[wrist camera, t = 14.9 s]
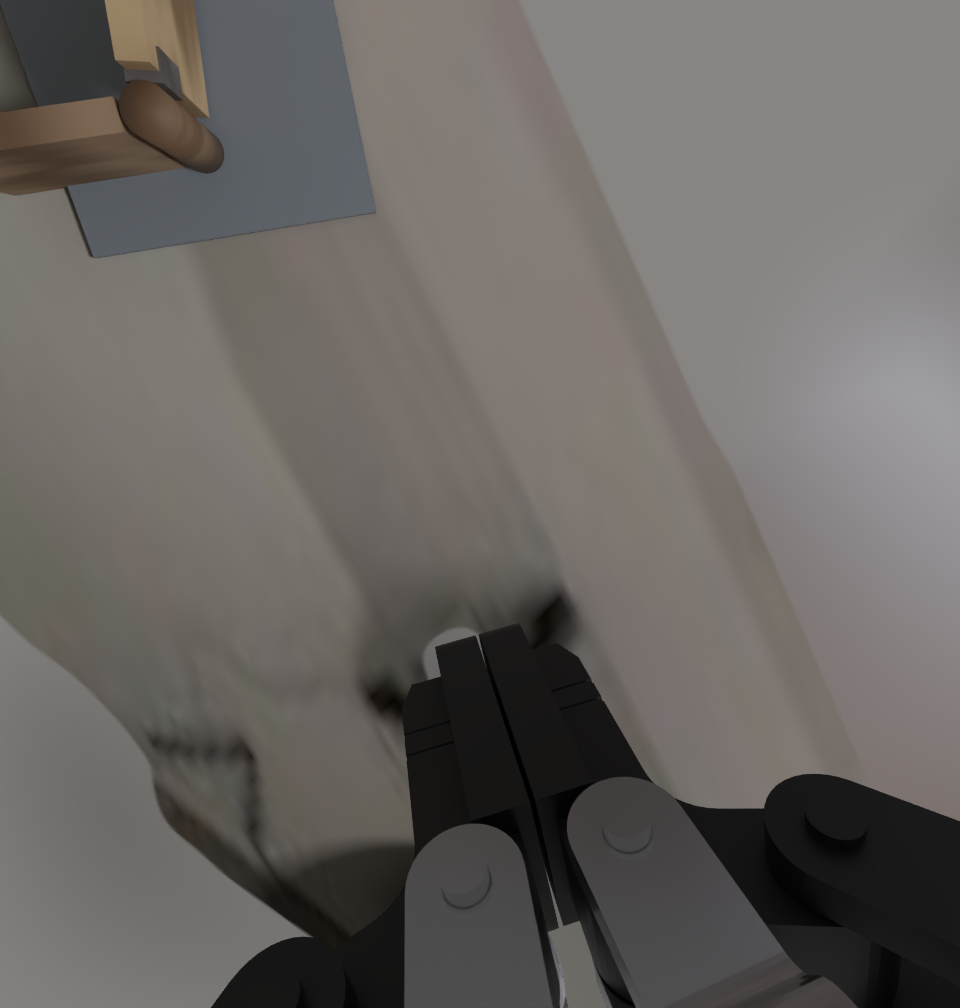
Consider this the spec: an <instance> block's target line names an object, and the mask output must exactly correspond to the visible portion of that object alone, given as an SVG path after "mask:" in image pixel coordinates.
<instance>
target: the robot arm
mask: <svg viewBox="0 0 960 1008" xmlns="http://www.w3.org/2000/svg"><path fill="white" fill-rule="evenodd" d="M479 639H480V643H481V647H482V652H483V656H484V660H485V663H484V660H483V657H482V653H481V650H480V647H479V644H478V641H477V638H476V636H472V637H468V638H464V639H461V640H457V641H454V642H451V643H447V644H443V645H440V646H437V647H435V649H436V654H437V659H438V664H439V668H440V673H441V677H438V678H434V679H431V680H427V681H424V682H420V683H417V684H413V685H412V686H411V688H410V691H409V693H408V696H407V698H406V700H405V703H404V705H403V708H402V717H403V727H404V735H405V748H406V756H407V769H408V779H409V789H410V799H411V810H412V820H413V830H414V841H415V856H414V862H413V863H412V866H411V868H410V870H409V873H408V877H407V880H406V884H405V886H404V888H403V889H402V891H401V893H400V894H399V896H398V897H397V898H396V900H395V901H394V902H393V903H392V905H391V906H390V907H389V908H388V909H387V910H386V911H385V912H384V913H383V914H382V915H381V916H380V917H378V918H377V919H376V920H375V921H373V922H372V923H371V924H369V925H368V926H366V927H365V928H364V929H362V930H361V931H359V932H358V933H356V934H355V935H354V936H352V937H351V938H349V939H348V940H346V941H345V942H344V943H342V944H341V945H339V946H338V947H336V948H335V949H334V950H333V949H332V948H331V947H330V946H329V945H327V944H326V943H325V942H323V941H321V940H318V939H315V938H311V937H295V938H290V939H286V940H283V941H280V942H278V943H276V944H274V945H271V946H269V947H268V948H266V949H265V950H263V951H262V952H260V953H259V954H257V955H256V956H255V957H253V958H252V959H251V960H250V961H249V962H248V963H247V964H245V965H244V966H243V967H242V968H241V969H240V970H239V972H238V973H237V974H236V975H235V976H234V978H233V979H232V980H231V981H230V982H229V984H228V985H227V987H226V988H225V989H224V991H223V992H222V993H221V995H220V996H219V998H218V999H217V1000H216V1002H215V1003H214V1004H213V1006H212V1007H211V1008H560V1004H559V1003H560V983H559V978H558V973H557V969H556V965H555V961H554V957H553V953H552V949H551V945H550V940H549V936H548V932H549V931H552V930H554V929H557V928H559V927H558V922H557V918H556V913H555V909H554V905H553V900H552V896H551V892H550V887H549V884H548V879H547V875H548V878H549V881H550V885H551V888H552V891H553V894H554V897H555V900H556V904H557V907H558V910H559V913H560V916H561V919H562V922H563V925H564V926H565V925H568V924H571V923H574V922H577V921H580V923H581V926H582V929H583V932H584V935H585V938H586V940H587V943H588V946H589V949H590V952H591V955H592V958H593V963H594V968H595V973H596V978H597V983H598V986H599V989H600V992H601V994H602V997H603V999H604V1001H605V1004H606V1006H607V1008H960V821H957V820H955V819H952V818H949V817H947V816H944V815H941V814H939V813H936V812H933V811H930V810H928V809H925V808H922V807H920V806H917V805H914V804H912V803H909V802H906V801H904V800H901V799H898V798H895V797H893V796H890V795H887V794H885V793H882V792H879V791H877V790H874V789H871V788H869V787H866V786H863V785H860V784H858V783H855V782H852V781H850V780H846V779H843V778H840V777H836V776H830V775H824V774H804V775H799V776H794V777H791V778H789V779H786V780H784V781H783V782H781V783H779V784H778V785H777V786H776V787H775V788H774V789H773V790H772V791H771V792H770V794H769V795H768V797H767V799H766V803H765V806H764V809H716V808H705V807H699V806H694V805H691V804H688V803H685V802H682V801H680V800H678V799H676V798H674V797H673V796H672V795H670V794H669V793H668V792H667V791H666V790H664V789H663V788H661V787H660V786H658V785H656V784H654V783H653V782H652V781H651V780H650V778H649V777H648V776H647V774H646V773H645V771H644V770H643V768H642V766H641V765H640V763H639V761H638V759H637V758H636V756H635V754H634V752H633V751H632V749H631V747H630V746H629V744H628V742H627V740H626V739H625V737H624V735H623V733H622V732H621V730H620V728H619V727H618V725H617V723H616V721H615V720H614V718H613V716H612V714H611V713H610V711H609V709H608V708H607V706H606V704H605V702H604V701H602V698H601V695H600V694H599V692H598V690H597V689H596V687H595V685H594V683H592V681H591V678H590V676H589V675H588V673H587V671H586V669H585V668H584V666H583V664H582V663H581V661H580V659H579V657H577V656H576V655H574V654H573V653H571V652H570V651H568V650H566V649H565V648H563V647H562V646H560V645H559V644H557V643H555V644H551V645H548V646H544V647H541V648H537V649H534V650H532V649H531V647H530V645H529V643H528V640H527V638H526V636H525V634H524V632H523V630H522V627H521V626H520V624H519V623H517V624H513V625H510V626H506V627H503V628H499V629H496V630H492V631H489V632H485V633H481V634H479ZM485 664H486V666H485ZM486 668H487V669H486ZM544 865H545V866H544ZM545 869H546V870H545ZM546 872H547V874H546Z"/></svg>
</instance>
